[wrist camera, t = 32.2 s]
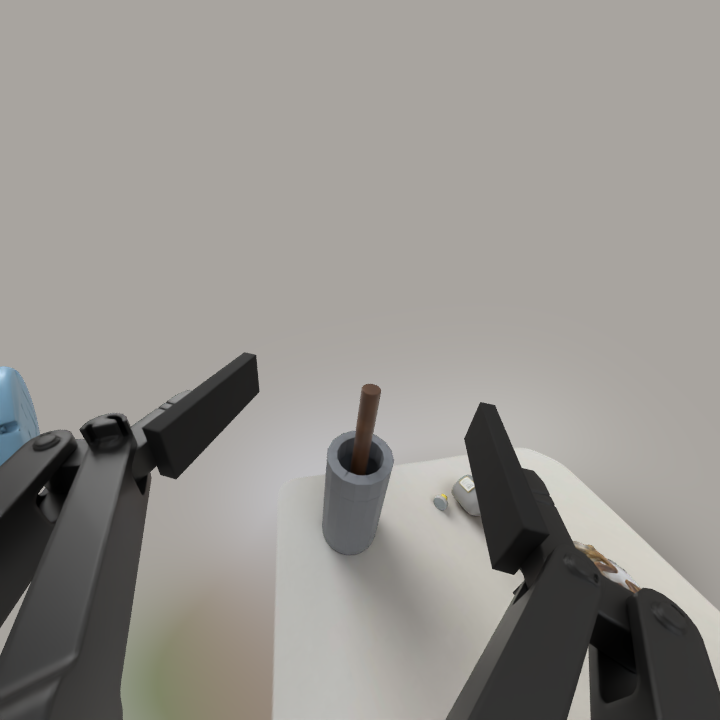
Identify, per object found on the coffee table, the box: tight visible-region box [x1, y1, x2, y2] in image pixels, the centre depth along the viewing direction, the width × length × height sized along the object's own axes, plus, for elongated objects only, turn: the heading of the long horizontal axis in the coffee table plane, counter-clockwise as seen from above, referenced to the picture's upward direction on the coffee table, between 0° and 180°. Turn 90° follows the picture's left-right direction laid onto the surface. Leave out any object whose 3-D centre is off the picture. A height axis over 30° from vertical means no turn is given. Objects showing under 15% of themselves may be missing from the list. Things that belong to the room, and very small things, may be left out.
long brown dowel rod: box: [350, 384, 381, 475], centre depth 32 cm, size 3×3×24 cm
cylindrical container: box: [322, 431, 394, 555], centre depth 35 cm, size 8×8×15 cm
